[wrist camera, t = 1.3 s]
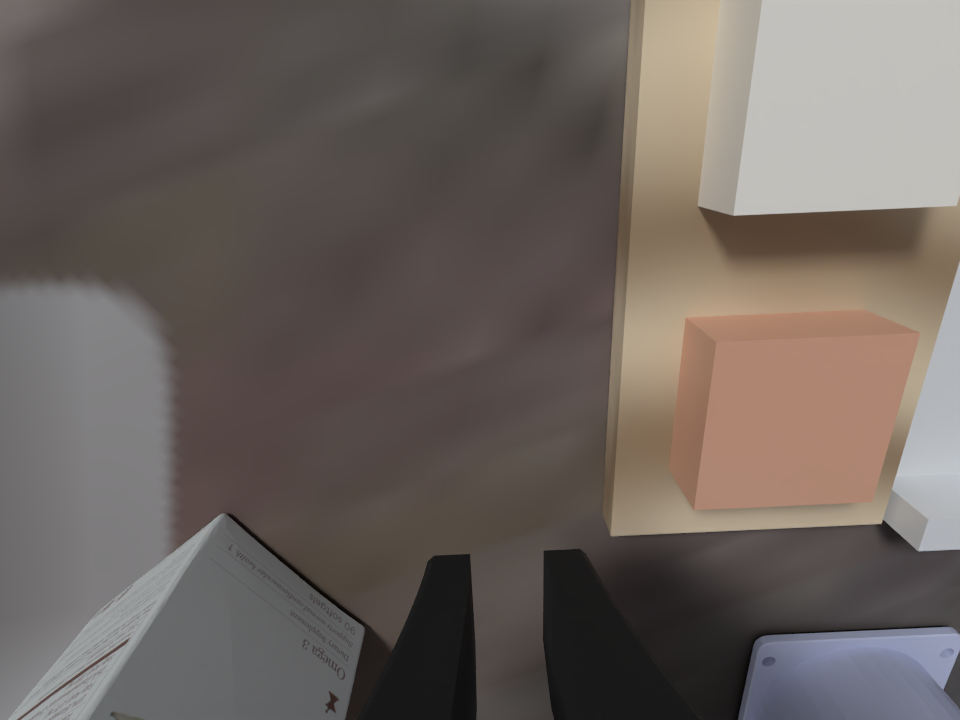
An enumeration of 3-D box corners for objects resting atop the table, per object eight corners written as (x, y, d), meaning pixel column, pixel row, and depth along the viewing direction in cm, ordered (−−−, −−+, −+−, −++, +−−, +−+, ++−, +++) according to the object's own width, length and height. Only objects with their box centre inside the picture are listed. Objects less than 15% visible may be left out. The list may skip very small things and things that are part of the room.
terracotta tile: (827, 462, 17) (872, 502, 15) (668, 469, 17) (693, 510, 15) (864, 309, 15) (920, 332, 13) (685, 317, 15) (716, 341, 13)
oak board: (857, 501, 19) (881, 523, 18) (602, 513, 19) (610, 536, 18) (1035, -157, 12) (1092, -187, 11) (639, -141, 12) (656, -169, 11)
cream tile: (890, 197, 14) (956, 205, 12) (697, 205, 14) (733, 215, 12) (946, -36, 12) (1034, -69, 10) (722, -27, 12) (770, -58, 10)
